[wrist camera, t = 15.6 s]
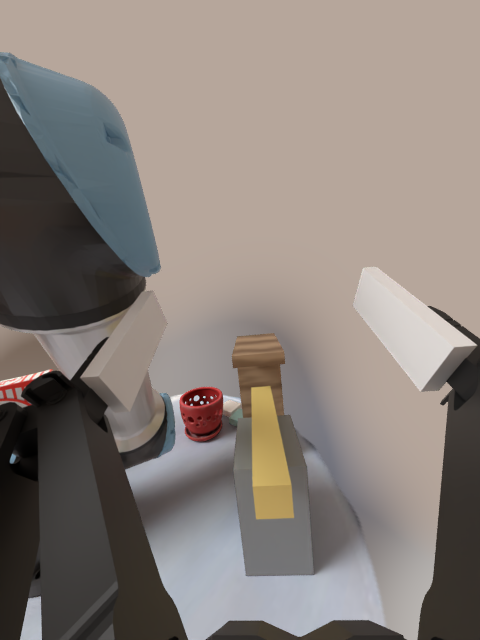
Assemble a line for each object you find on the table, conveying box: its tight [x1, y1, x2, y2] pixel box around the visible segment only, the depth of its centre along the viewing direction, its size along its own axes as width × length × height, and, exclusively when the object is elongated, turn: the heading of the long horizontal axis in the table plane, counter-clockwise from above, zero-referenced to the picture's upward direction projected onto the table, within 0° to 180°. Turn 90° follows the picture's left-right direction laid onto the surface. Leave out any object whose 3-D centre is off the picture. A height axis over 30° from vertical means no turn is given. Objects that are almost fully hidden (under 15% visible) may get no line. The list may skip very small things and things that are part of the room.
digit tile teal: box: [229, 408, 243, 426], centre depth 68 cm, size 6×6×2 cm
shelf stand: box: [232, 333, 285, 418], centre depth 50 cm, size 17×10×30 cm, turn 177°
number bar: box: [251, 386, 294, 519], centre depth 32 cm, size 22×4×4 cm, turn 177°
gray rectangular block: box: [233, 415, 314, 576], centre depth 35 cm, size 12×10×18 cm
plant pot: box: [180, 387, 223, 441], centre depth 64 cm, size 13×13×12 cm
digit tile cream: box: [222, 400, 242, 417], centre depth 74 cm, size 6×6×2 cm
